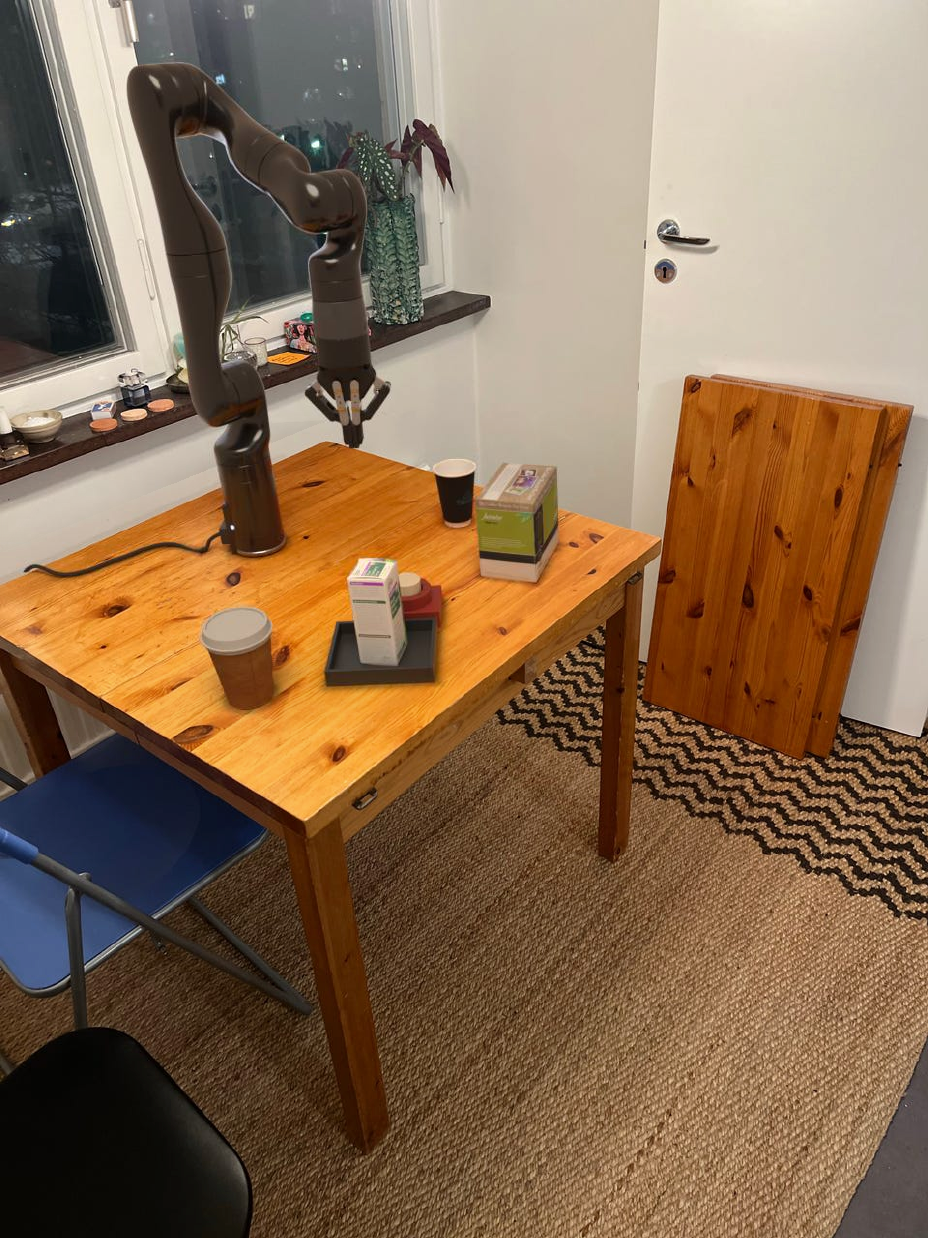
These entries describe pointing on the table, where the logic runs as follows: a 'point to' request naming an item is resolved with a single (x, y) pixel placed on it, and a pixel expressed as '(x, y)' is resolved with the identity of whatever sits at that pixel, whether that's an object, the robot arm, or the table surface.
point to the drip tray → (410, 669)
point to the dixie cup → (455, 490)
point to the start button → (409, 584)
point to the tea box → (517, 522)
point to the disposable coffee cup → (241, 654)
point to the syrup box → (377, 611)
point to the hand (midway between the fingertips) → (354, 446)
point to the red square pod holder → (424, 603)
